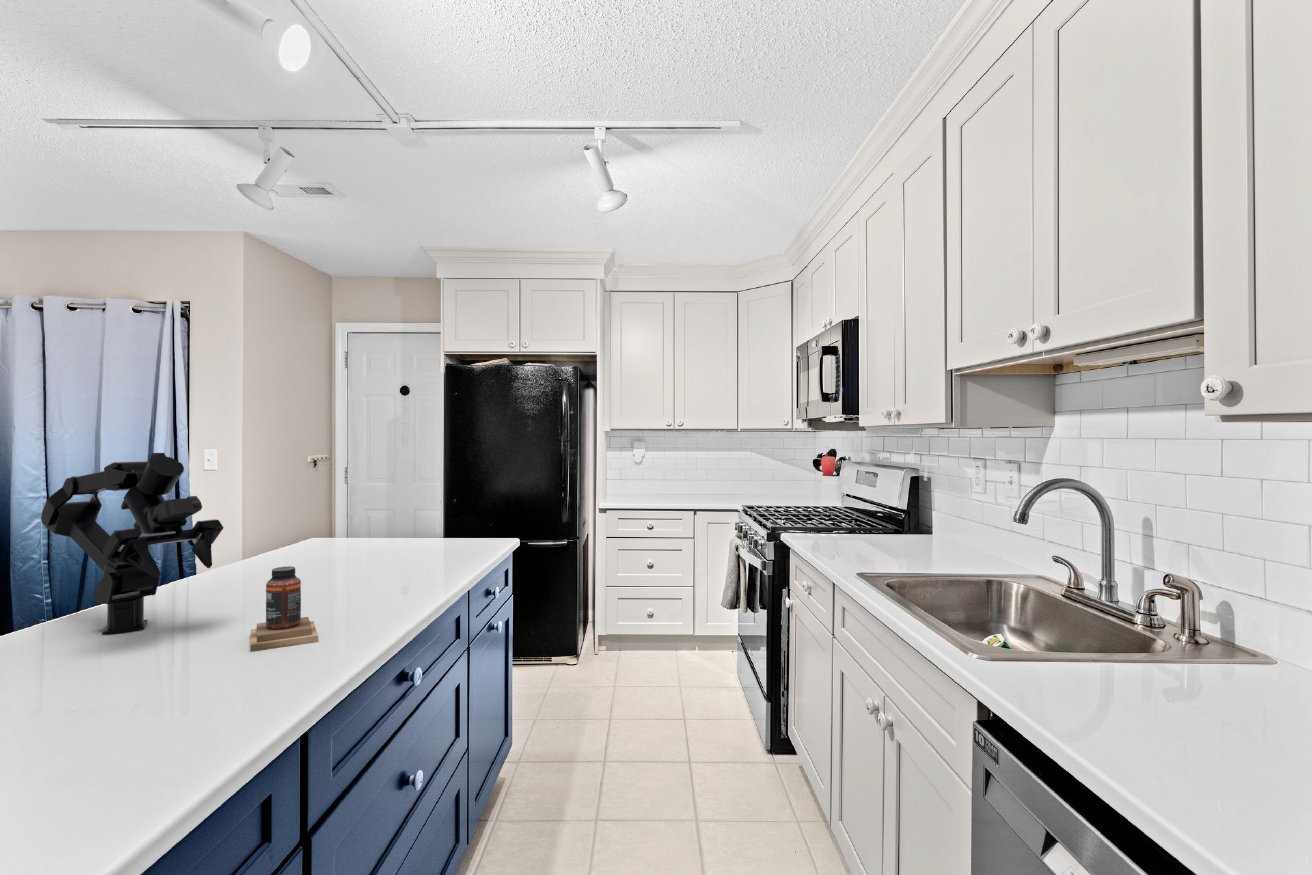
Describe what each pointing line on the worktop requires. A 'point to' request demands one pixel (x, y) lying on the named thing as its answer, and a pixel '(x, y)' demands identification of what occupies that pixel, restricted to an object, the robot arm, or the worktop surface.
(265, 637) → the wooden stand
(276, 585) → the supplement bottle
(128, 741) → the worktop surface
